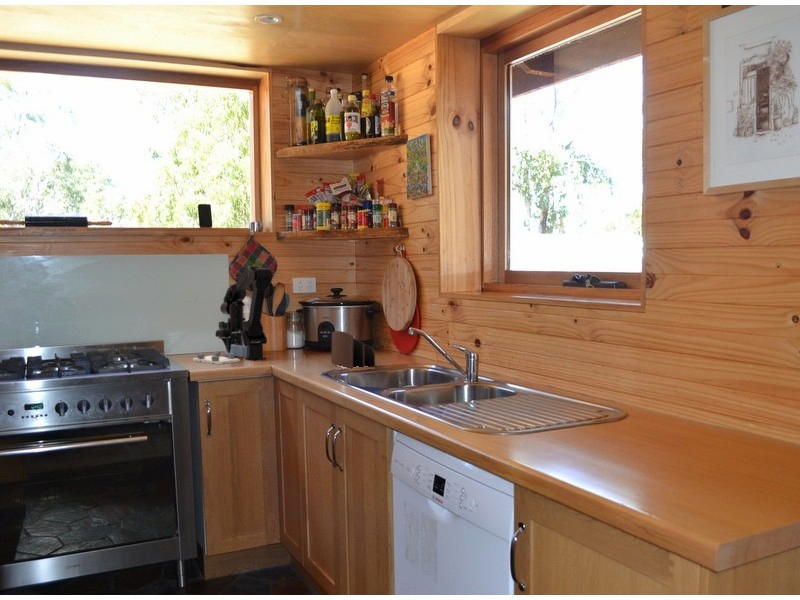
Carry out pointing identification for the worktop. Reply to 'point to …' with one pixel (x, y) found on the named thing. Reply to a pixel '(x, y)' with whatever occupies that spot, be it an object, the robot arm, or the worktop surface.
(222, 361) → the cradle
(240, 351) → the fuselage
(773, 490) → the worktop surface
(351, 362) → the letter holder
